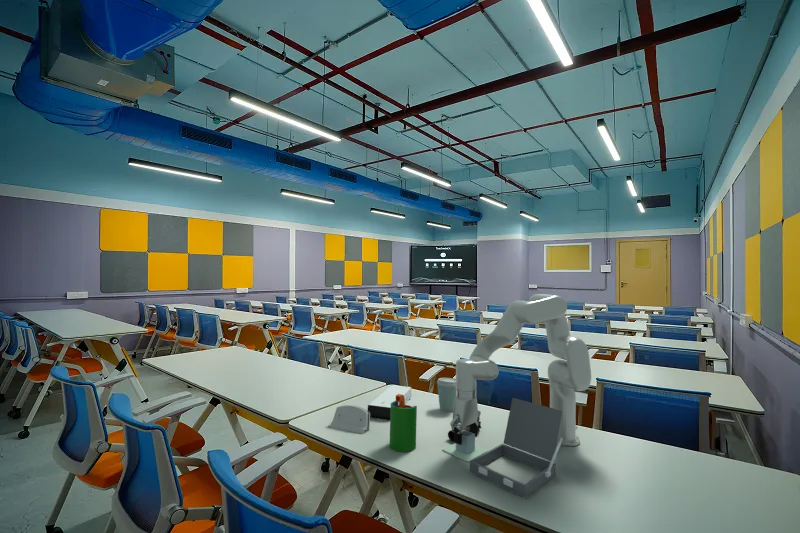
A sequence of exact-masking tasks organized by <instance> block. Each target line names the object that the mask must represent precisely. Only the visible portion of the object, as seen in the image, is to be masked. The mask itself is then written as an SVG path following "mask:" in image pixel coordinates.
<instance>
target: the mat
mask: <svg viewBox="0 0 800 533" xmlns="http://www.w3.org/2000/svg"><path fill="white" fill-rule="evenodd" d="M441 451H443V452H444V453H447V454H449V455H451V456H454V457H455V458H458V459H460V460H462V461H465V463H469V464H470V461H471V460H473V459H475V458H476V457H478V456H480V455H482V454H484V453H486V452H487V451H488V449H485V448H482V447H480V446H478V445H475V450H474V451H473V452H471V453H469V454H464V453H462V452H460V451H457V450H456V443H453V444H450V445H448V446H447V447H444V448H442V449H441Z"/></svg>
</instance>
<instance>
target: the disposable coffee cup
mask: <svg viewBox="0 0 800 533" xmlns="http://www.w3.org/2000/svg"><path fill="white" fill-rule="evenodd" d="M436 385H437V392H438V393H437V395H438V403H439V404H438V405H439V409H440V411H441V412H444V413H451V412H453V406H454V400H455V398H456V378H455V379H454V378H451V377H440V378H437V381H436Z"/></svg>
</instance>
